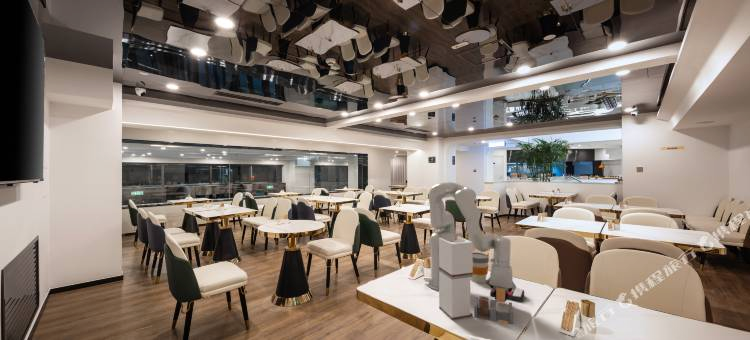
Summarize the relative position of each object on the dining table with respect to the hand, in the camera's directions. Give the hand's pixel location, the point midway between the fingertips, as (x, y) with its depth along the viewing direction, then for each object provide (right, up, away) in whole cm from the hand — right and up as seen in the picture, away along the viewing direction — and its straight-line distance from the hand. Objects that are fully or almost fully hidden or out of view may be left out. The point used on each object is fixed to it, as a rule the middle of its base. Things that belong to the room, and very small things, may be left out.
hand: (500, 298), depth 146 cm
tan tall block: (0, -1, 0) cm, 1 cm away
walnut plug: (-12, -3, -9) cm, 15 cm away
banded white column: (-25, -4, -8) cm, 26 cm away
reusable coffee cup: (0, -3, +33) cm, 33 cm away
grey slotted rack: (-8, -4, -11) cm, 14 cm away
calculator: (+8, -4, +10) cm, 13 cm away
